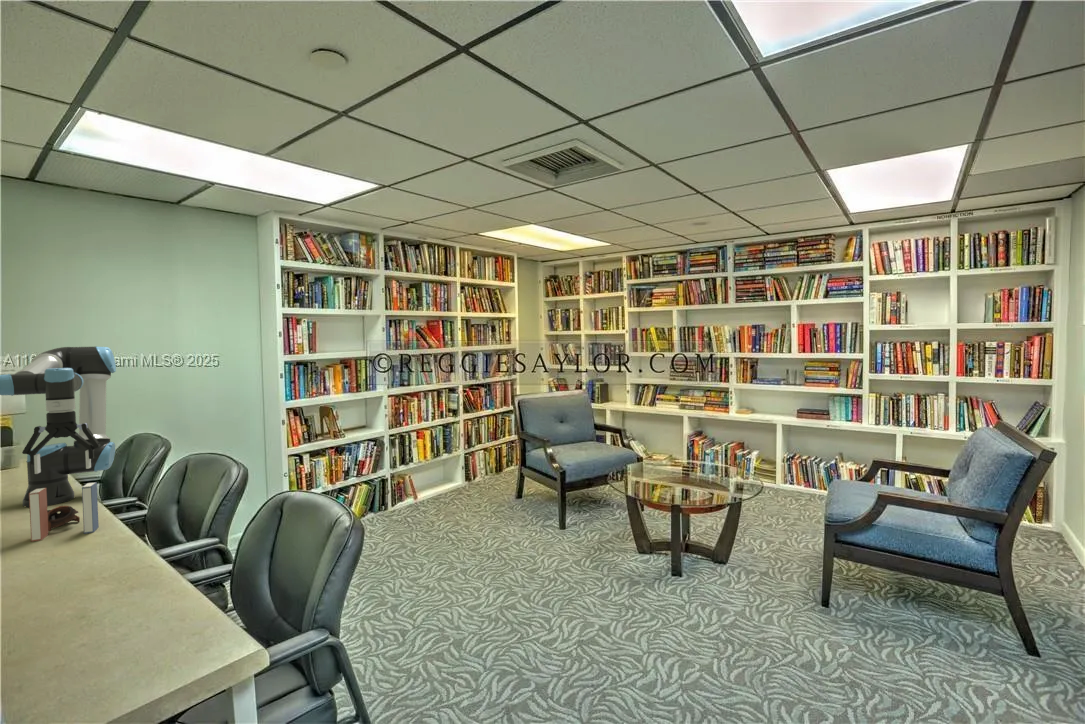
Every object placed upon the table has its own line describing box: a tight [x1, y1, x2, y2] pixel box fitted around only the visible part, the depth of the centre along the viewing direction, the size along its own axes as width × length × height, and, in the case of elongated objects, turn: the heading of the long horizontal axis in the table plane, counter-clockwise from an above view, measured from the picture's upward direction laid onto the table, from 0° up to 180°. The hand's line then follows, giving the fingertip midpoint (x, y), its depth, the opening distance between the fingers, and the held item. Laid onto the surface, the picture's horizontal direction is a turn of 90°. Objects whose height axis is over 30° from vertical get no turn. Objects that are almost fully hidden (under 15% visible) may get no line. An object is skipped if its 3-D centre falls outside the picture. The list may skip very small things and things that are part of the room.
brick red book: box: [29, 488, 49, 542], centre depth 167 cm, size 6×2×16 cm, turn 29°
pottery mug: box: [47, 505, 81, 532], centre depth 177 cm, size 12×9×8 cm
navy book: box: [81, 481, 100, 535], centre depth 173 cm, size 6×2×16 cm, turn 29°
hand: (63, 470), depth 179 cm, fingers open, 13 cm apart
